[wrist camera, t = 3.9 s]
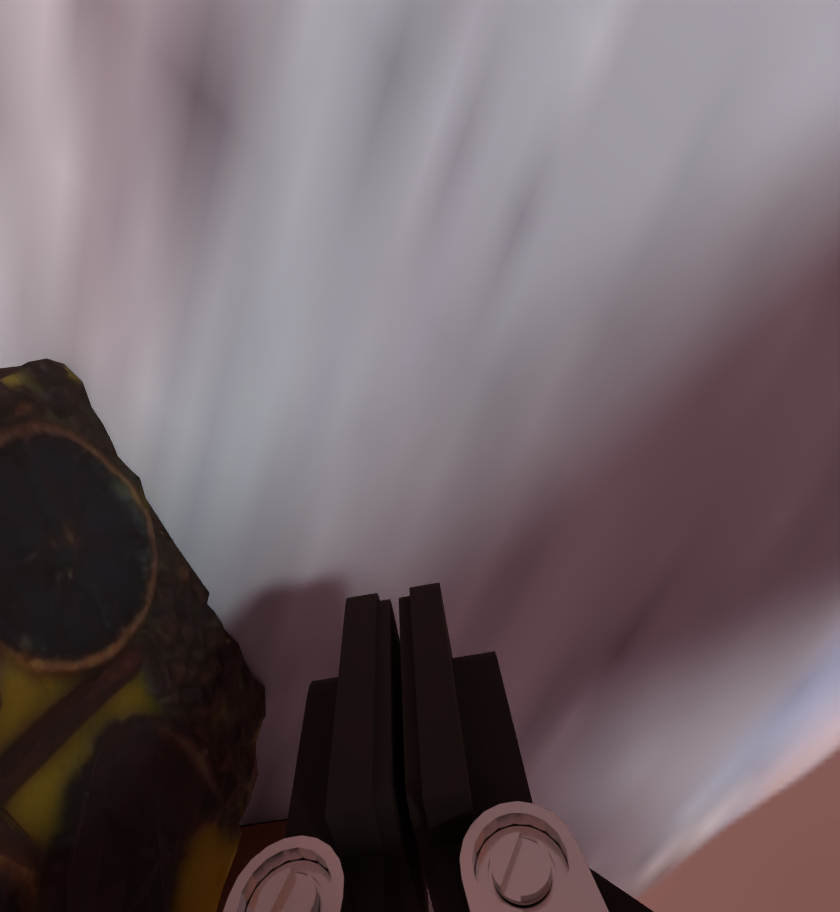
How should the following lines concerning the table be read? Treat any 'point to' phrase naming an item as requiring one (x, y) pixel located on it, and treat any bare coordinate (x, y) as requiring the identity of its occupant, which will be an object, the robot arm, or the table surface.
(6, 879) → the candle
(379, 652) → the robot arm
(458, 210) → the table surface
